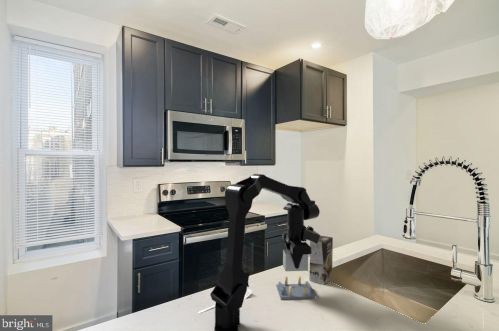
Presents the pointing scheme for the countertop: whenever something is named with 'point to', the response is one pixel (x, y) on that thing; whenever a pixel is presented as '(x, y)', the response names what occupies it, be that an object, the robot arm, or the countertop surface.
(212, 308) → the fork
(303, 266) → the block
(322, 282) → the coffee box
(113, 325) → the countertop surface
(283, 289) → the tray
